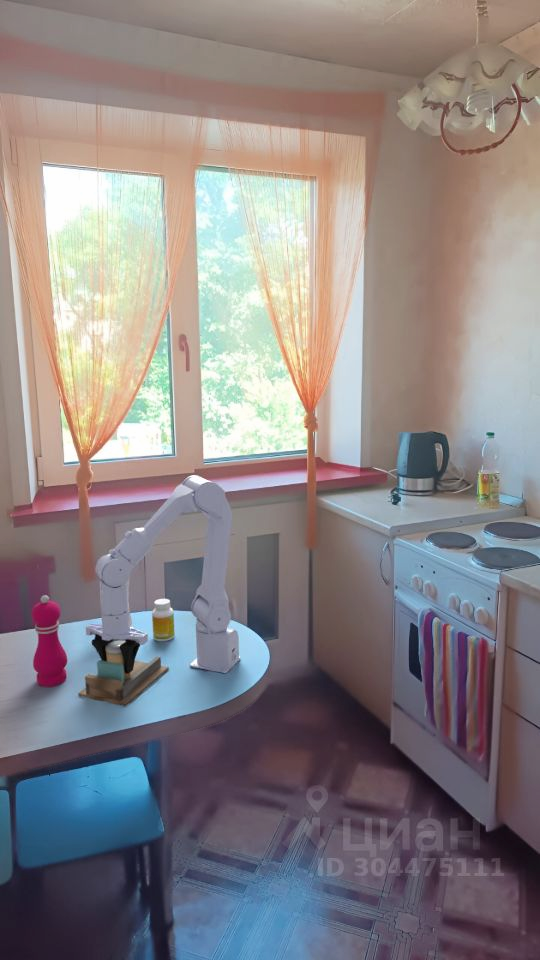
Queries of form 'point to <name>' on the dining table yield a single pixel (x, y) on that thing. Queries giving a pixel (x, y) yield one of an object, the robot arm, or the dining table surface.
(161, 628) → the supplement bottle
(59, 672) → the pepper mill
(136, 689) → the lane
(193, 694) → the dining table surface
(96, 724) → the dining table surface
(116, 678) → the pusher
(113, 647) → the jar
